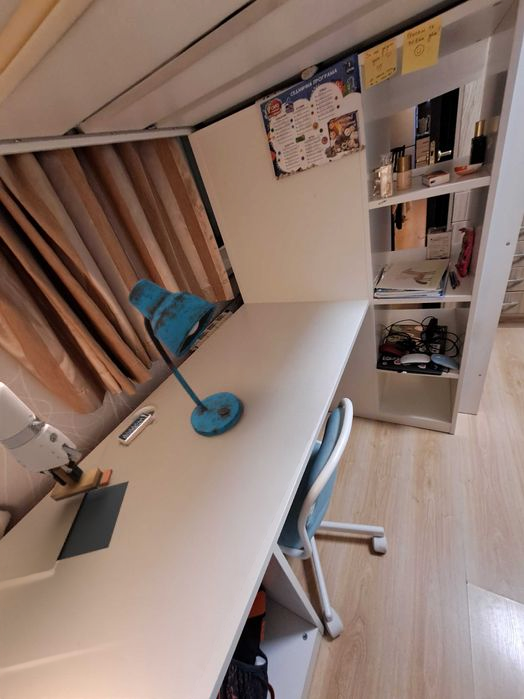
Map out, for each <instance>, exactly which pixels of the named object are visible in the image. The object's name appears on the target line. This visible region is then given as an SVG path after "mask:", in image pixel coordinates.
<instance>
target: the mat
mask: <svg viewBox="0 0 524 699" xmlns="http://www.w3.org/2000/svg"><path fill="white" fill-rule="evenodd" d="M129 482H130V481H129V480H127V481H124V482H121V483H116V484H113V485H109V486H106V487H102V488H98V489H96V490H92V491H89V492H86V493H84V495H83V497H82V500H81V502H80V504H79V507H78V509H77V511H76V513H75V516H74V518H73V521H72V523H71V525H70V528H69V530H68V532H67V534H66V536H65V538H64V541H63V544H62V546H61V548H60V551H59V553H58V555H57V558H56V560H55V561H56V562H59V561H62V560H66V559H70V558H74V557H77V556H81V555H86V554H89V553H93V552H98V551H100V550H105V549H108V548H109V547H110V544H111V541H112V537H113V534H114V531H115V527H116V525H117V522H118V518H119V515H120V511H121V509H122V506H123V502H124V498H125V495H126V493H127V489H128V486H129Z"/></svg>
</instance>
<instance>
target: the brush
mask: <svg viewBox="0 0 524 699" xmlns="http://www.w3.org/2000/svg"><path fill="white" fill-rule="evenodd" d="M52 470H53V472H54V473H56V474H57V475H58V476H59V477H60V478H61V479H62V480H63V481H64V482H66V483H67V484H66V486H62V485H61V484H59V483H58V482H57V481H56V482H55V484H54V486H53V489H52V491H51V492H50V495H49V497H50V498H51V499H52V500H54V501H55V502H56V503H57V502H60V501H63V500H66V499H69V498H72V497H76V496H79V495H82V494H85V493H87V492H91V491H94V490H98V489H99V488H100V486H99V484H100V482H101V479H102V476H103V473H102V472H103V471H102V470H101V469H100V468H99V467H95V468H93V469H89V470H86V471H83V474H82V476H81V478H80V480H79V482H77V483H75V482H74V481H73V480H72V479H70V478H69V477H68V476H67V475H66V473H67V472H66V471H65V470H64V469H62V468H61V467H60V466H59V467H55V468H53V469H52Z"/></svg>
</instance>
